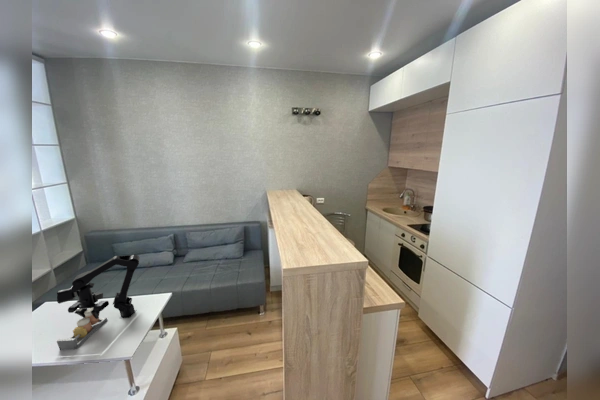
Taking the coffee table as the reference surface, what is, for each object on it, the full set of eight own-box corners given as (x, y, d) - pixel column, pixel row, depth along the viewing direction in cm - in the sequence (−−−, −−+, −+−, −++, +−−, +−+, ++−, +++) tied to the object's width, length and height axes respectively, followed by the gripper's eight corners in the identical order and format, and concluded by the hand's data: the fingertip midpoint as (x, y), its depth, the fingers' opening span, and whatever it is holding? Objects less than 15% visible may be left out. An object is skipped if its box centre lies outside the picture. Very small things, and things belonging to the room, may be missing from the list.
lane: (93, 321, 135) (90, 312, 134) (107, 320, 135) (105, 311, 134) (60, 350, 116) (56, 341, 114) (76, 349, 116) (73, 340, 115)
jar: (102, 318, 134) (98, 307, 132) (94, 325, 129) (90, 313, 127) (93, 318, 134) (89, 307, 132) (85, 325, 128) (81, 314, 127)
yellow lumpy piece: (77, 336, 124) (74, 327, 122) (88, 335, 124) (85, 326, 123) (70, 341, 120) (67, 332, 119) (82, 341, 120) (79, 331, 119)
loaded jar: (95, 328, 129) (91, 316, 127) (87, 335, 124) (83, 323, 122) (86, 328, 129) (82, 317, 127) (77, 336, 124) (73, 324, 122)
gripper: (113, 286, 134) (119, 308, 138) (81, 287, 134) (88, 309, 138) (97, 298, 124) (104, 322, 127) (63, 300, 123) (71, 323, 127)
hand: (92, 318), depth 130 cm, fingers closed on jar, 5 cm apart
